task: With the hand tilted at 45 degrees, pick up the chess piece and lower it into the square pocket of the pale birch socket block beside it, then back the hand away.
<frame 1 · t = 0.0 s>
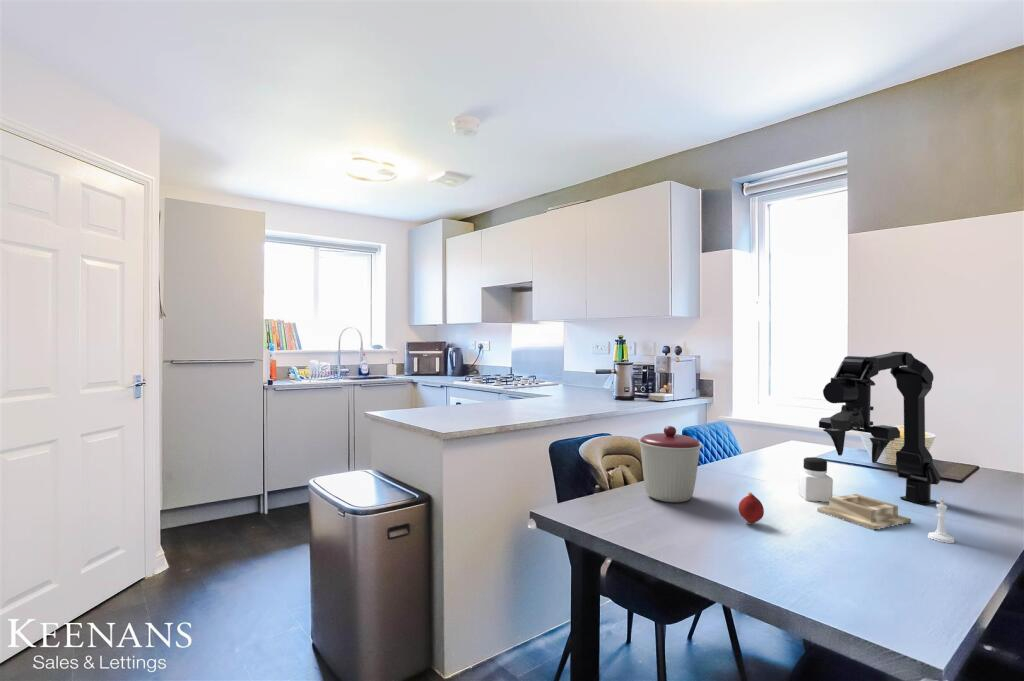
hand: (856, 459, 141), 15 cm above the table, tool pointing down, fingers open, 9 cm apart
canister: (668, 498, 152), on the table
chess piece: (940, 539, 123), on the table
socket block: (862, 516, 138), on the table
medicine bottle: (814, 498, 154), on the table
onion: (750, 524, 131), on the table
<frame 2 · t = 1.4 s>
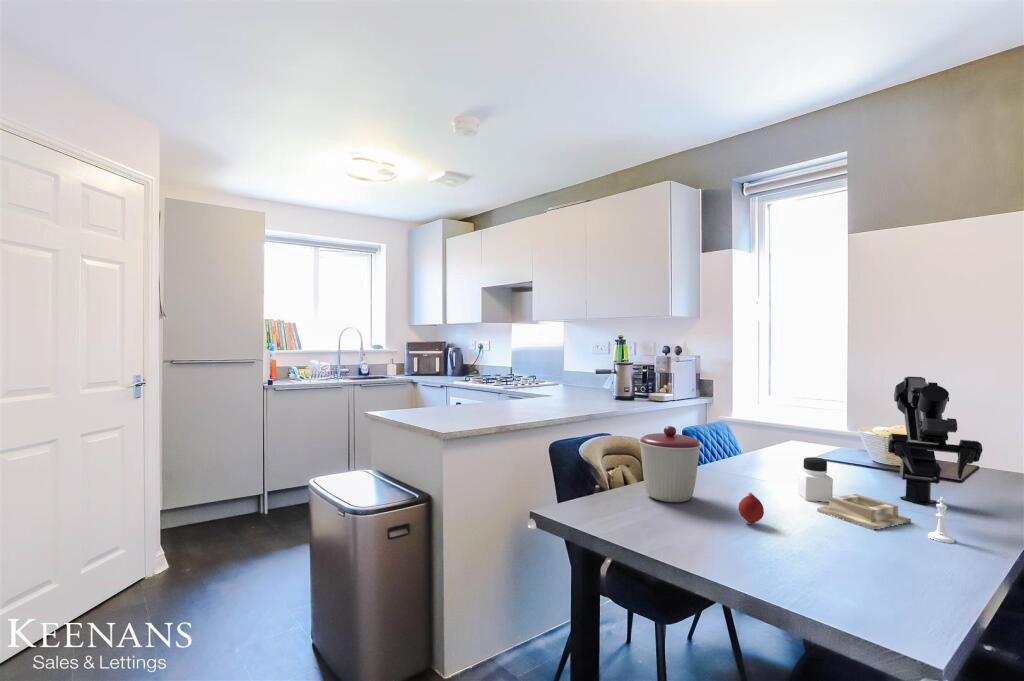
hand: (936, 474, 130), 14 cm above the table, tool tilted 45°, fingers open, 9 cm apart
nothing on the table moved.
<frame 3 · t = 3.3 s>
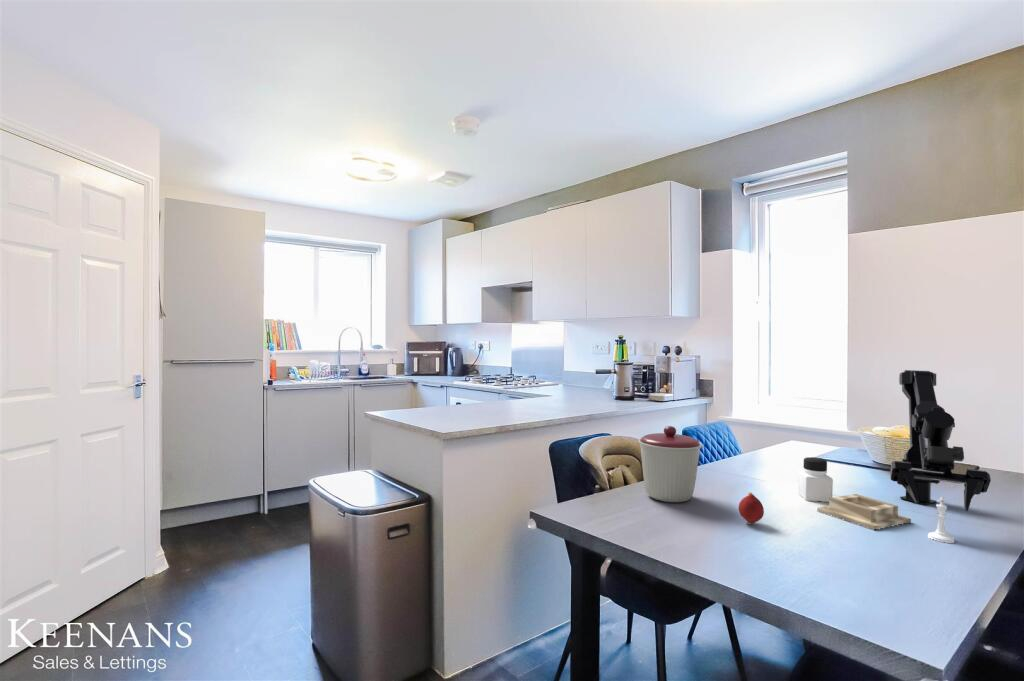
hand: (941, 506, 123), 8 cm above the table, tool tilted 45°, fingers open, 9 cm apart
nothing on the table moved.
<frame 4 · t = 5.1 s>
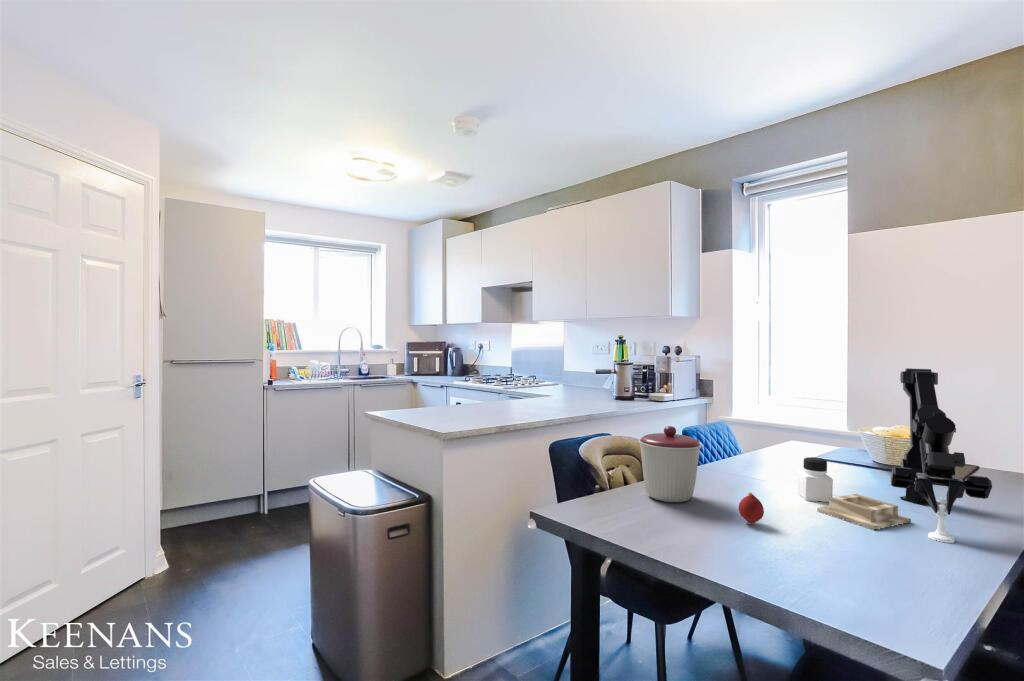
hand: (942, 513, 122), 7 cm above the table, tool tilted 45°, fingers closed on chess piece
chess piece: (940, 539, 123), on the table, touching gripper
everything else where it was.
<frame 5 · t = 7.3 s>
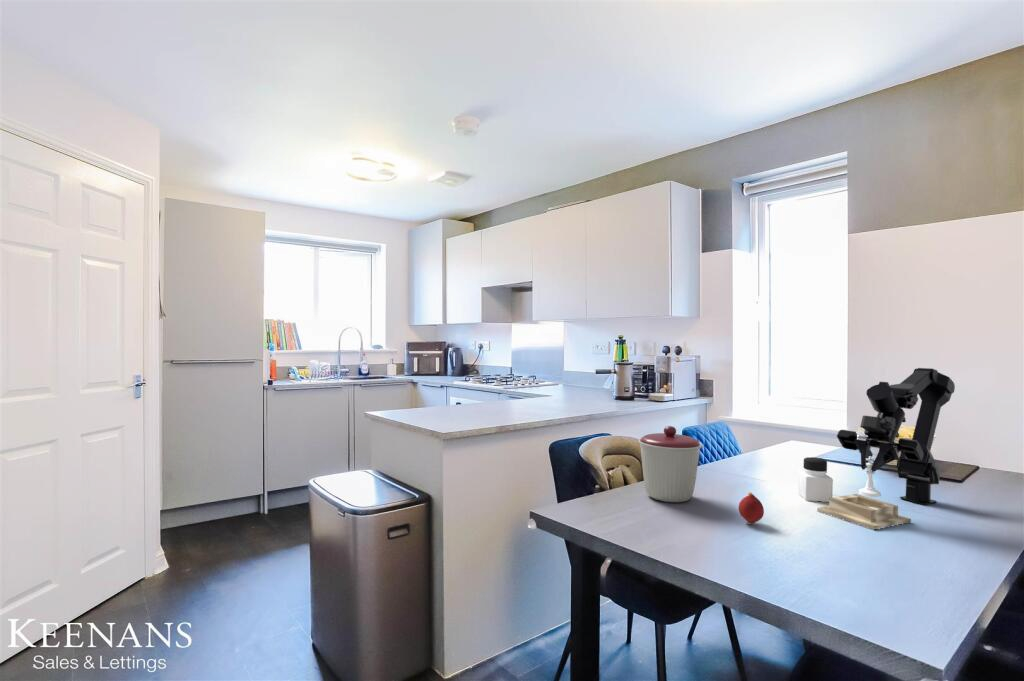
hand: (867, 469, 136), 13 cm above the table, tool tilted 45°, fingers closed on chess piece
chess piece: (869, 494, 136), point 6 cm above the table, touching gripper
everything else where it was.
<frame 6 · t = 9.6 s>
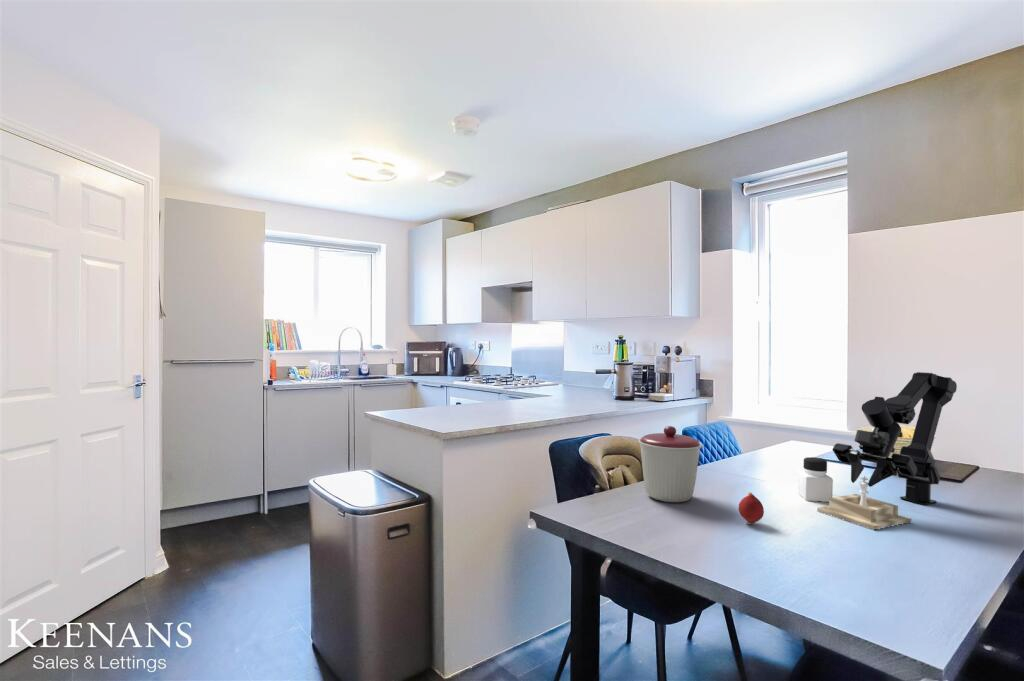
hand: (860, 483, 137), 9 cm above the table, tool tilted 45°, fingers open, 4 cm apart
chess piece: (863, 513, 138), point 1 cm above the table, touching socket block
everything else where it was.
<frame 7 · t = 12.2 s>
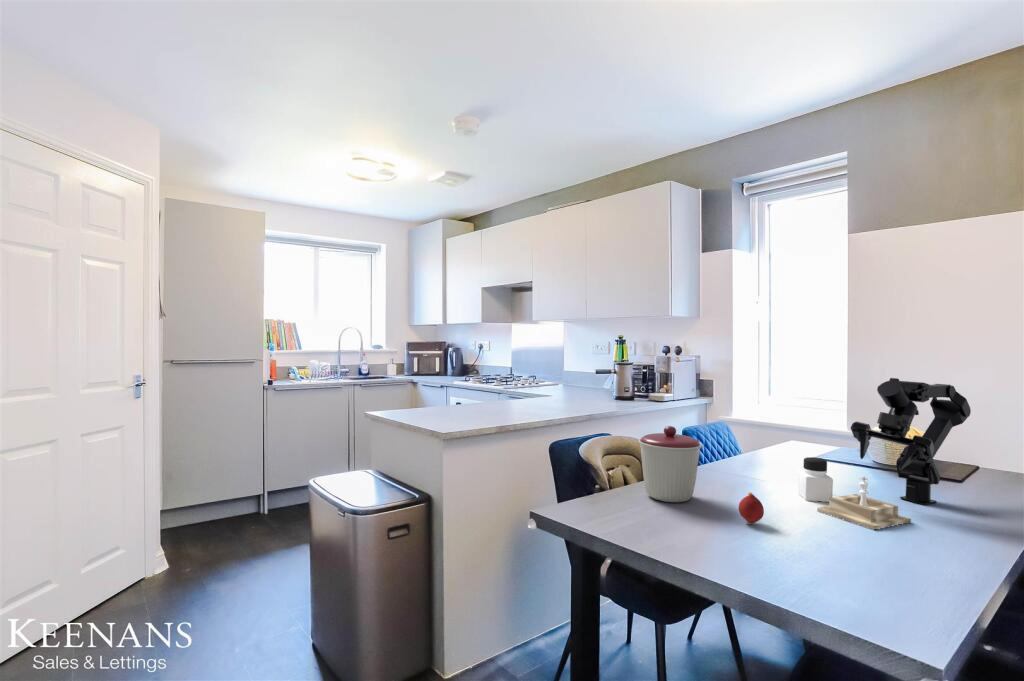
hand: (880, 463, 142), 13 cm above the table, tool tilted 40°, fingers open, 9 cm apart
nothing on the table moved.
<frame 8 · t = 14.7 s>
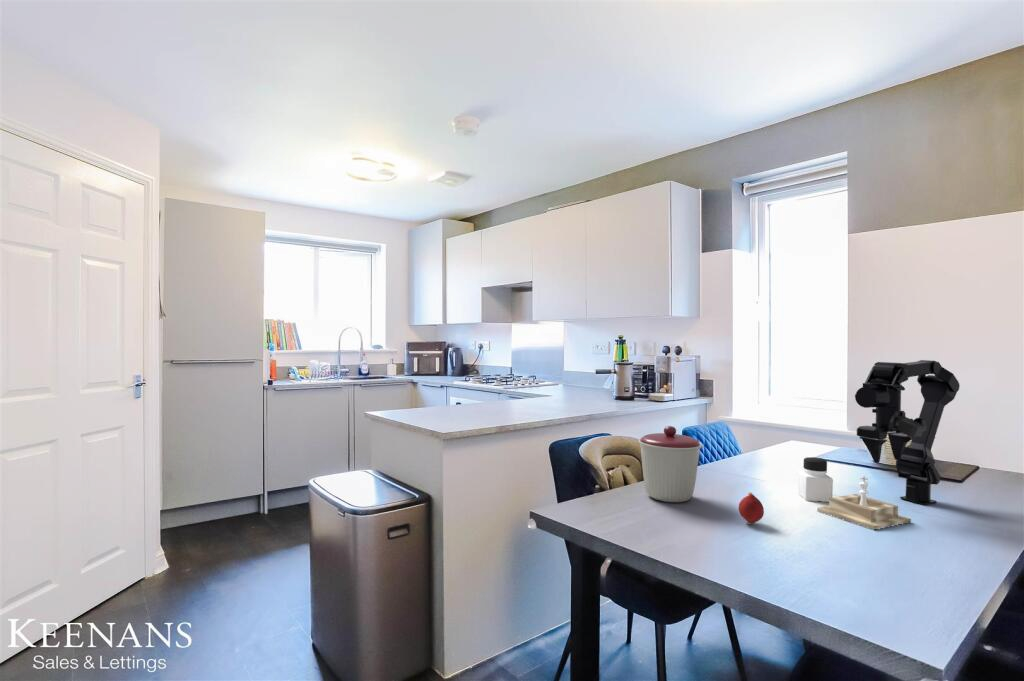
hand: (887, 461, 146), 13 cm above the table, tool pointing down, fingers open, 9 cm apart
nothing on the table moved.
at the end: chess piece 0.2 cm off-centre on the socket block, point 0.8 cm above the socket block's base; chess piece tilted 0°; the gripper is holding nothing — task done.
